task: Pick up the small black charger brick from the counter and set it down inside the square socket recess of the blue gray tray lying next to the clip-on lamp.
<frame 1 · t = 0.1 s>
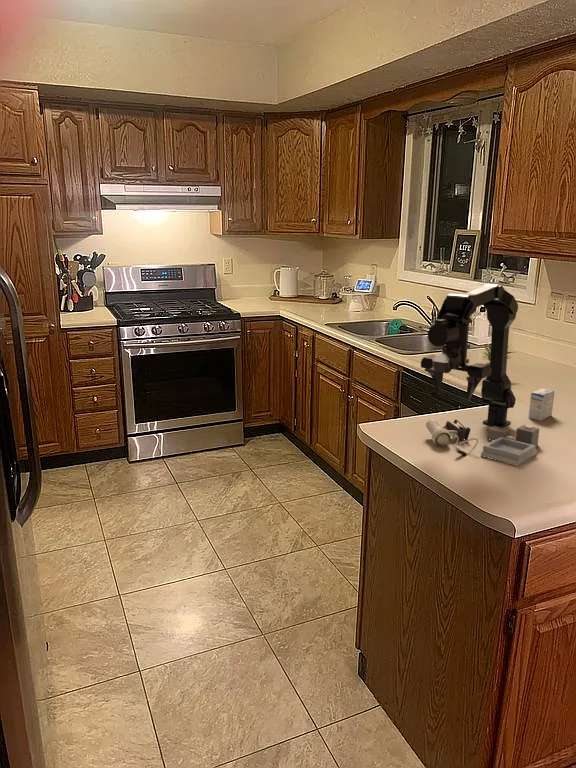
hand: (453, 396, 167), 15 cm above the table, tool pointing down, fingers open, 9 cm apart
cable plug: (497, 440, 175), on the table
medicine box: (540, 417, 196), on the table
house plant: (492, 380, 243), on the table
charger brick: (526, 445, 171), on the table
blue gray tray: (508, 455, 164), on the table
clip-on lamp: (452, 446, 172), on the table
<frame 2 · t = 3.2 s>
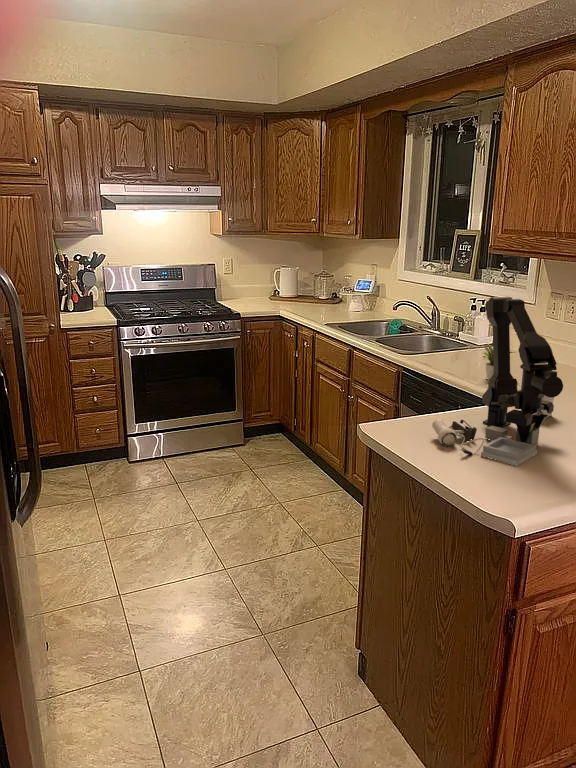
hand: (526, 440, 171), 1 cm above the table, tool pointing down, fingers closed on charger brick, 4 cm apart
charger brick: (526, 444, 171), on the table, touching gripper
clip-on lamp: (458, 446, 172), on the table
everything else where it was.
when the fingers open (4 cm above the table, at t = 6.9 s): charger brick drops 1 cm, resting on blue gray tray.
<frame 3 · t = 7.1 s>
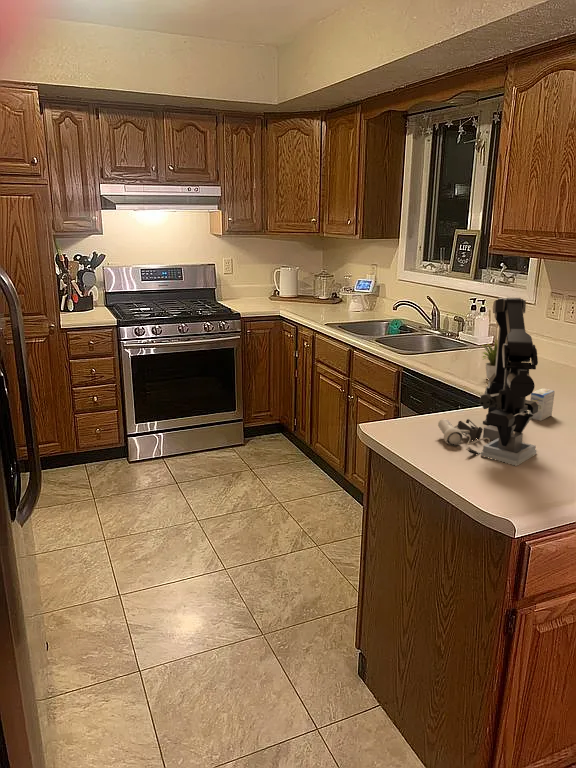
hand: (509, 442, 163), 4 cm above the table, tool pointing down, fingers open, 6 cm apart
charger brick: (509, 450, 164), point 1 cm above the table, touching blue gray tray
clip-on lamp: (464, 445, 172), on the table
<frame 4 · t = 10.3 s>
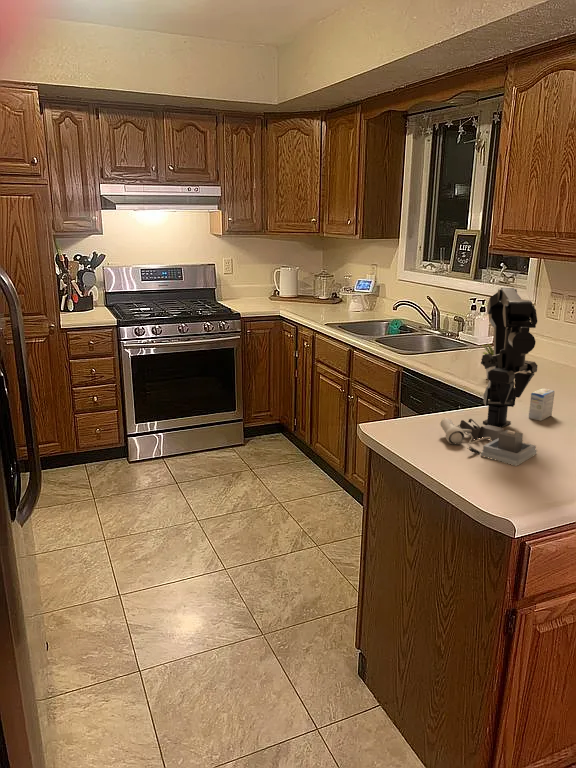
hand: (510, 400, 170), 13 cm above the table, tool pointing down, fingers open, 9 cm apart
at the end: charger brick 0.1 cm off-centre on the blue gray tray, point 1.2 cm above the blue gray tray's base; charger brick tilted 0°; the gripper is holding nothing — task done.
